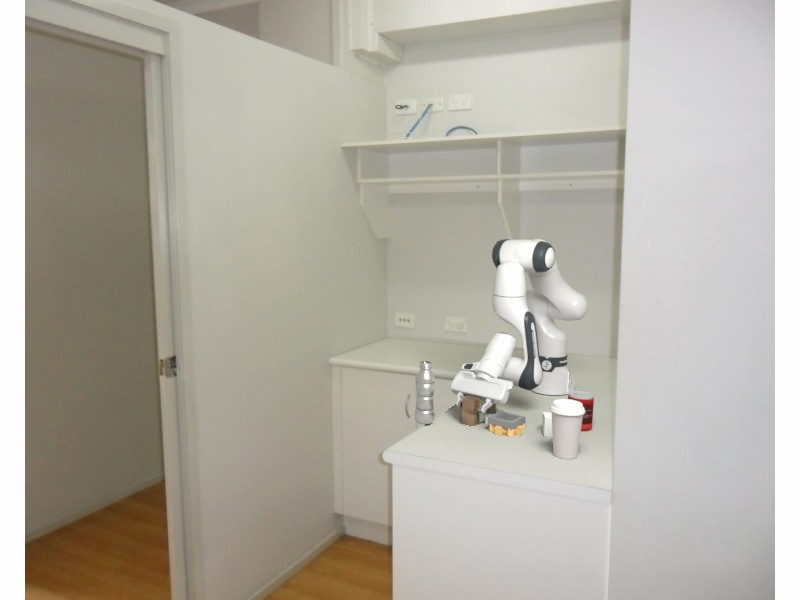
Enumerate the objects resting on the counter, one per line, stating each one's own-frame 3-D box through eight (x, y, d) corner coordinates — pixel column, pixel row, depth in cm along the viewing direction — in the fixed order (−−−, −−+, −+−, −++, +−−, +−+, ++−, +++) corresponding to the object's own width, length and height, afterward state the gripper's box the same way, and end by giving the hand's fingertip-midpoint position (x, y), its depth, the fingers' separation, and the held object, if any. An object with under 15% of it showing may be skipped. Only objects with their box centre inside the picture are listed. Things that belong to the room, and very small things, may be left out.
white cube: (564, 438, 191) (565, 419, 191) (544, 437, 192) (544, 418, 191) (561, 431, 197) (562, 412, 196) (542, 430, 198) (542, 411, 197)
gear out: (500, 422, 204) (501, 409, 204) (530, 430, 198) (531, 416, 197) (482, 430, 196) (482, 417, 196) (512, 439, 189) (513, 424, 189)
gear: (478, 412, 214) (478, 398, 214) (510, 416, 211) (510, 401, 210) (471, 422, 204) (471, 407, 204) (504, 426, 201) (505, 411, 200)
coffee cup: (540, 454, 178) (543, 402, 176) (559, 446, 184) (561, 396, 182) (571, 464, 171) (574, 410, 169) (589, 455, 177) (592, 403, 175)
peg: (468, 421, 205) (469, 395, 204) (479, 424, 203) (480, 398, 202) (461, 424, 202) (462, 398, 201) (472, 427, 200) (473, 400, 199)
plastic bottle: (436, 421, 205) (438, 360, 202) (431, 427, 199) (433, 365, 196) (417, 419, 207) (418, 359, 204) (411, 425, 200) (413, 363, 198)
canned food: (572, 422, 207) (574, 389, 205) (596, 427, 202) (598, 393, 200) (562, 427, 201) (563, 394, 199) (586, 433, 196) (588, 398, 194)
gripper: (518, 385, 203) (501, 421, 197) (465, 374, 216) (448, 407, 210) (512, 373, 199) (494, 410, 193) (458, 363, 212) (440, 397, 206)
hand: (469, 409), depth 201 cm, fingers open, 7 cm apart
